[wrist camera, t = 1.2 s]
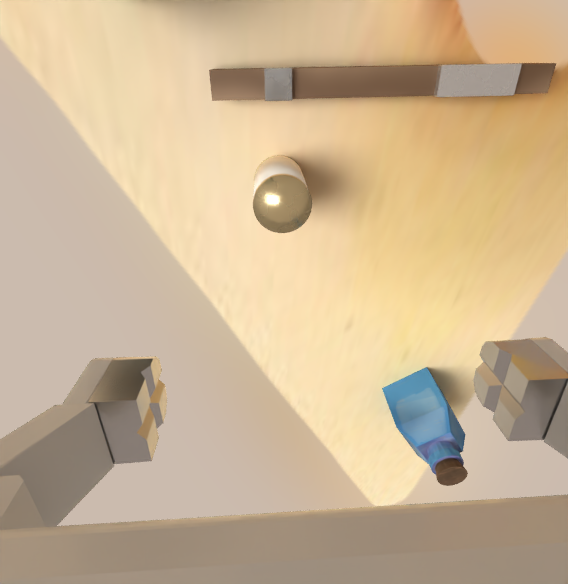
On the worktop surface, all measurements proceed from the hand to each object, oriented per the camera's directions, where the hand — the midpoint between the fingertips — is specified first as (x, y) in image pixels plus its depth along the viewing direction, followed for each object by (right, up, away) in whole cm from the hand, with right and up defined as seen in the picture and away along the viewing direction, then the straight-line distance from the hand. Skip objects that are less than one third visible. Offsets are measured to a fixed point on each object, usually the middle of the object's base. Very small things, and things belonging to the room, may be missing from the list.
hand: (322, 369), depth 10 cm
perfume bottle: (+16, -11, +41) cm, 46 cm away
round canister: (-1, +12, +26) cm, 29 cm away
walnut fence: (+6, +19, +22) cm, 30 cm away
